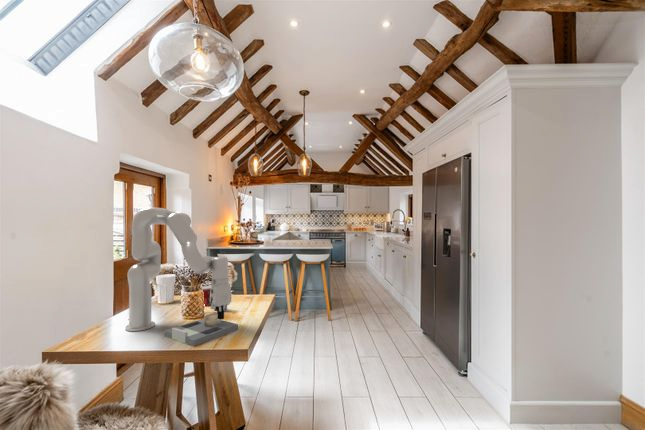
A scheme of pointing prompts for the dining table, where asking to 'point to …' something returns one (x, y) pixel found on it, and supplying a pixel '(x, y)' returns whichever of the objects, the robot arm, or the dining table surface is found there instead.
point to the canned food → (206, 295)
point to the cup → (165, 288)
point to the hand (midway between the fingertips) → (220, 318)
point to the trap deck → (200, 331)
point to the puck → (211, 319)
